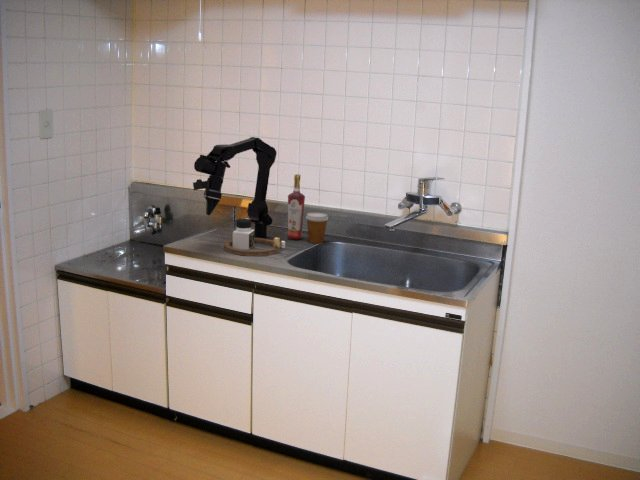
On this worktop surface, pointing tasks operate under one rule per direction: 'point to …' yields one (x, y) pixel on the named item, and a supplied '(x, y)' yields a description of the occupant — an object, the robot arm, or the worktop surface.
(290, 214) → the liquor
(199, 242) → the worktop surface
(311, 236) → the disposable coffee cup
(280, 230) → the worktop surface
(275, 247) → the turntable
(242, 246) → the medicine bottle
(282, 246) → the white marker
